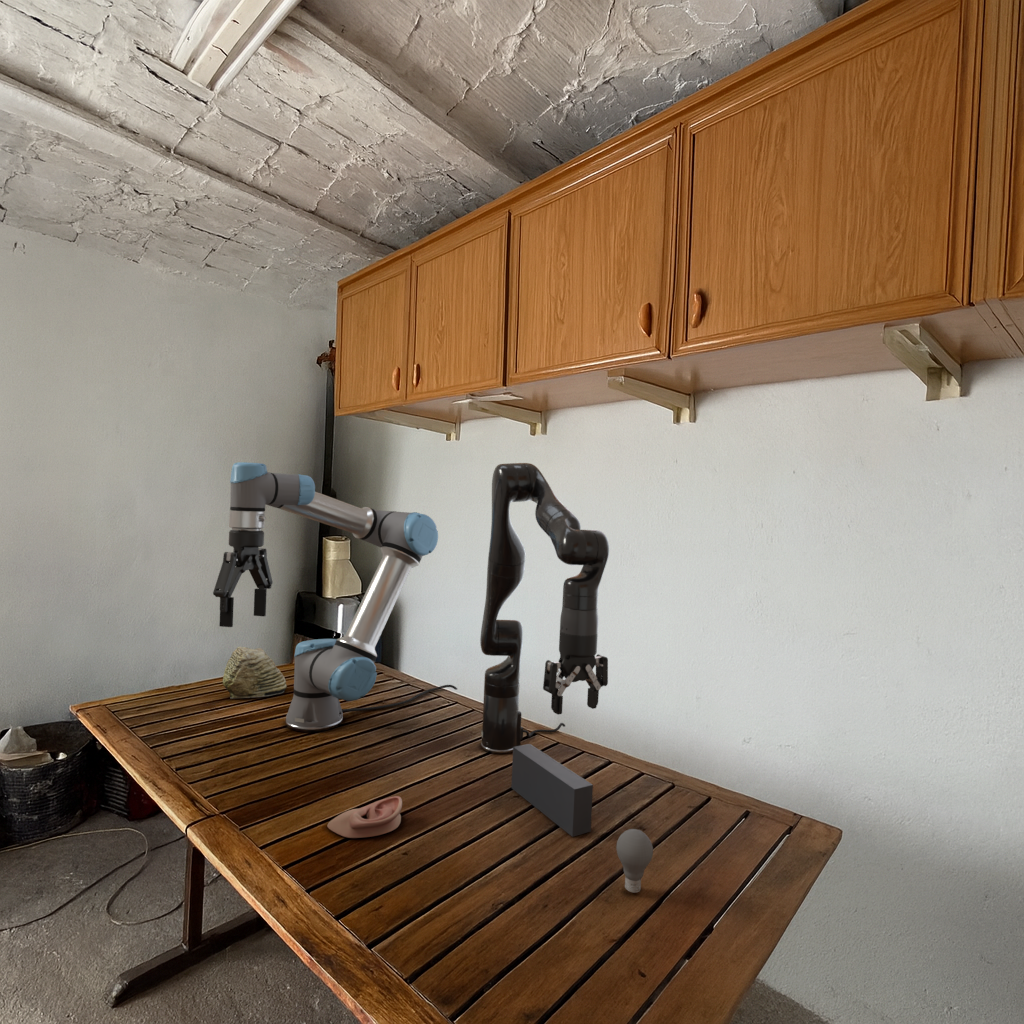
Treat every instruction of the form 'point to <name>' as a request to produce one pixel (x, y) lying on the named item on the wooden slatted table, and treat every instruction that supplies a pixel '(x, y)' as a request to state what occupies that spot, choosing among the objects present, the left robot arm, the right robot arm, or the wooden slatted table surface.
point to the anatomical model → (369, 819)
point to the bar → (552, 789)
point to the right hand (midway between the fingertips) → (574, 710)
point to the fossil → (252, 674)
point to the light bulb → (634, 857)
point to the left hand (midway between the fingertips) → (243, 621)
